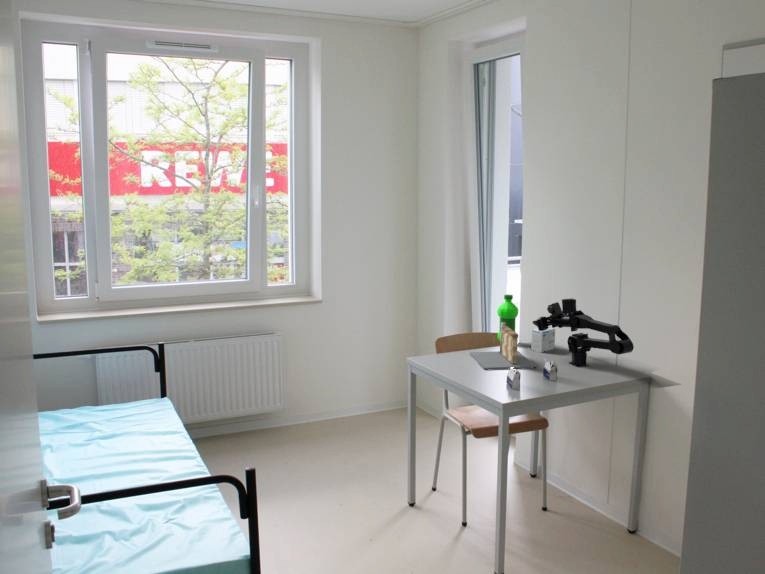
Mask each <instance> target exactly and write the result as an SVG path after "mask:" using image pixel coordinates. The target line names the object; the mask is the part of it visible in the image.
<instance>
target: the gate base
mask: <svg viewBox="0 0 765 574" xmlns="http://www.w3.org/2000/svg"><path fill="white" fill-rule="evenodd" d="M502 326H506V323H504V322H502V323H501V333H500V341H499V351H473V352H471V351H470V352H469V355H470V356H471V358H472V357H473V358H474V359H475V360H476V361H477V362H478V363H477V362H476V361H475V360H474V359H473V358H472V359H473V360H474V361H475V362H476V363H477V364H478V365H479V366H480V367H481V368H482V369H483V370H484V369H498V370H509V369H508V368H510V367H514V368H528V369H533V368H532V367H536V368H537V365H536V364H535V363H534V362H532V361H530V359H529V358H527V357H526V356H525V355H524V354H522V353H521V352H520V351H519V350H517V363H515V364H512V363H511V362H510V361H509V360H508V359H507V358H506V357H505V356H503V355H502V354H501V352H502Z"/></svg>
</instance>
